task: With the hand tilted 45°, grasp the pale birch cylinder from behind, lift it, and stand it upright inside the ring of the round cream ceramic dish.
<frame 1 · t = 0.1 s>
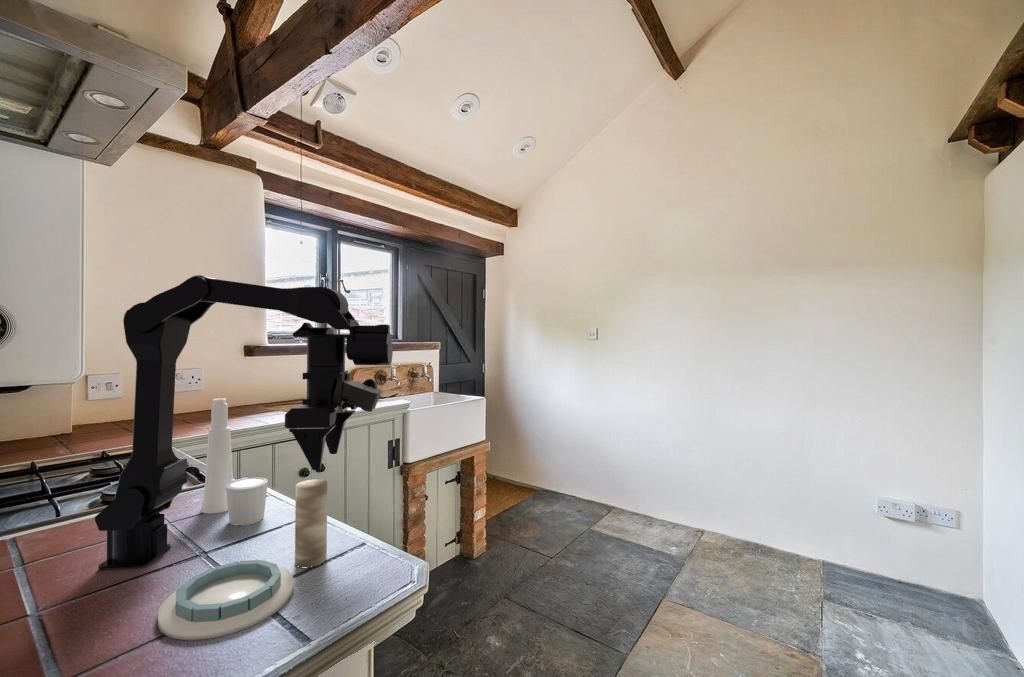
hand: (325, 461, 73), 15 cm above the counter, tool pointing down, fingers open, 9 cm apart
ring dish: (230, 601, 59), on the counter
white cup: (247, 520, 85), on the counter
cosmetic bottle: (218, 509, 90), on the counter
birch cylinder: (310, 560, 70), on the counter
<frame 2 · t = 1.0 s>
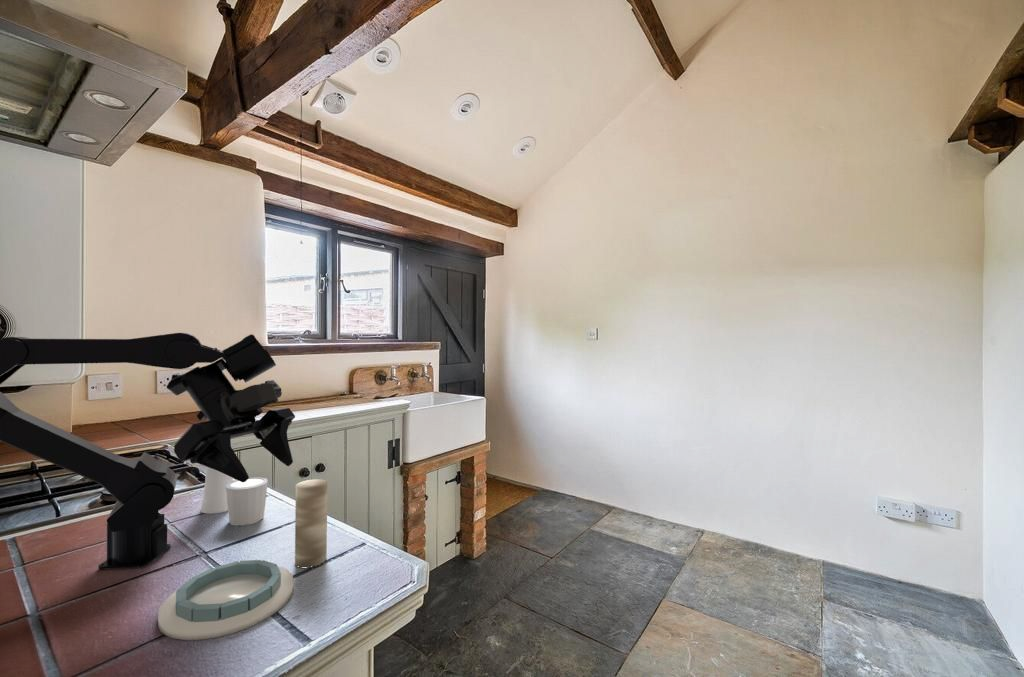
hand: (269, 471, 71), 13 cm above the counter, tool tilted 45°, fingers open, 9 cm apart
nothing on the counter moved.
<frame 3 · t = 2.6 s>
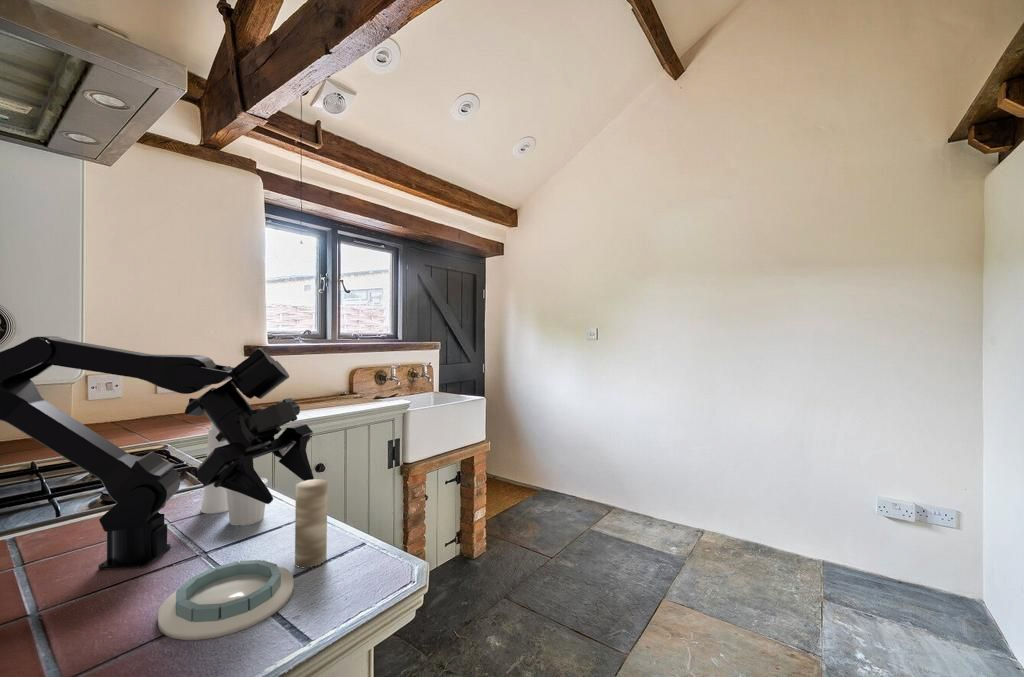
hand: (292, 491, 71), 10 cm above the counter, tool tilted 45°, fingers open, 9 cm apart
nothing on the counter moved.
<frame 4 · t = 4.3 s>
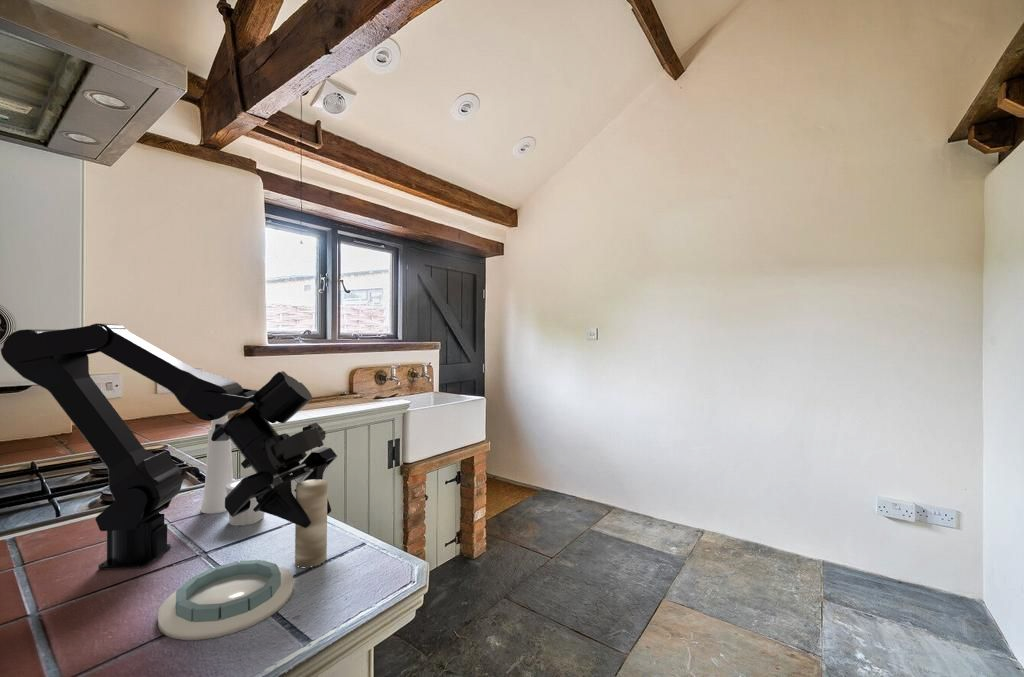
hand: (319, 519, 69), 7 cm above the counter, tool tilted 45°, fingers closed on birch cylinder, 4 cm apart
birch cylinder: (310, 560, 70), on the counter, touching gripper
everything else where it was.
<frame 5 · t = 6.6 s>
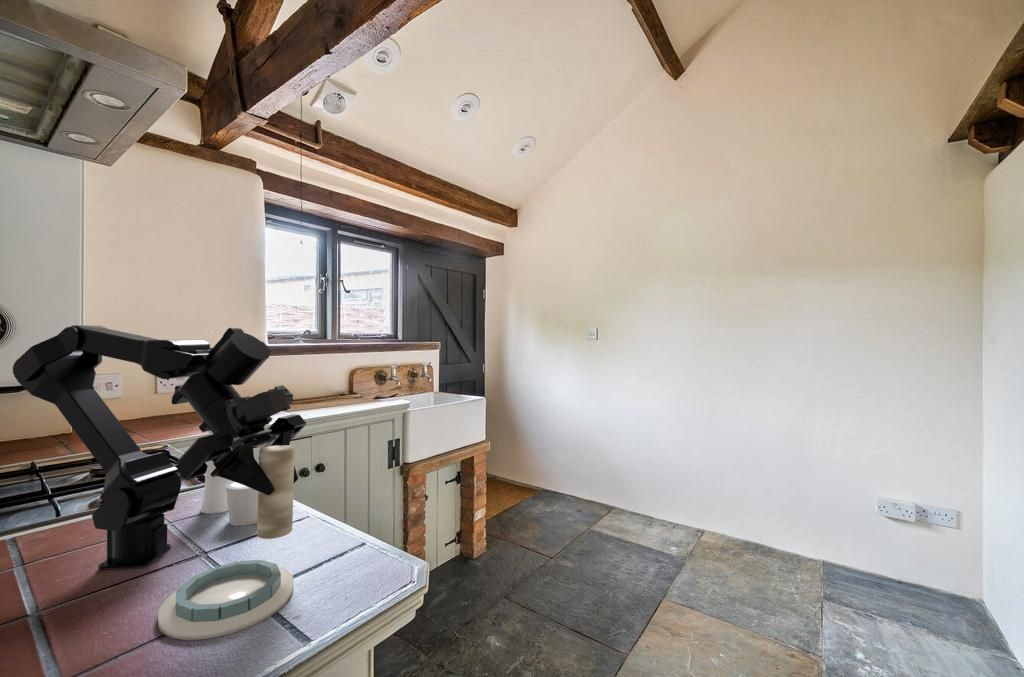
hand: (284, 487, 64), 13 cm above the counter, tool tilted 45°, fingers closed on birch cylinder, 4 cm apart
birch cylinder: (275, 531, 65), point 7 cm above the counter, touching gripper
everything else where it was.
when the fingers open (8 cm above the counter, at t = 8.7 s): birch cylinder stays where it is, resting on ring dish.
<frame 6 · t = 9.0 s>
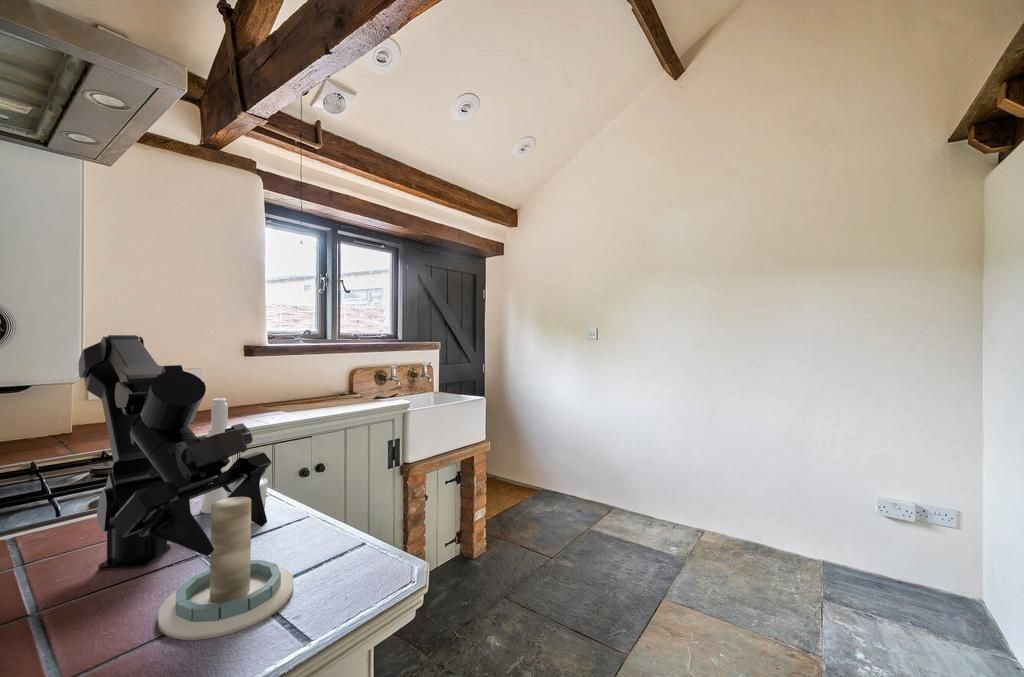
hand: (239, 537, 58), 9 cm above the counter, tool tilted 45°, fingers open, 8 cm apart
birch cylinder: (230, 593, 59), point 1 cm above the counter, touching ring dish
everything else where it was.
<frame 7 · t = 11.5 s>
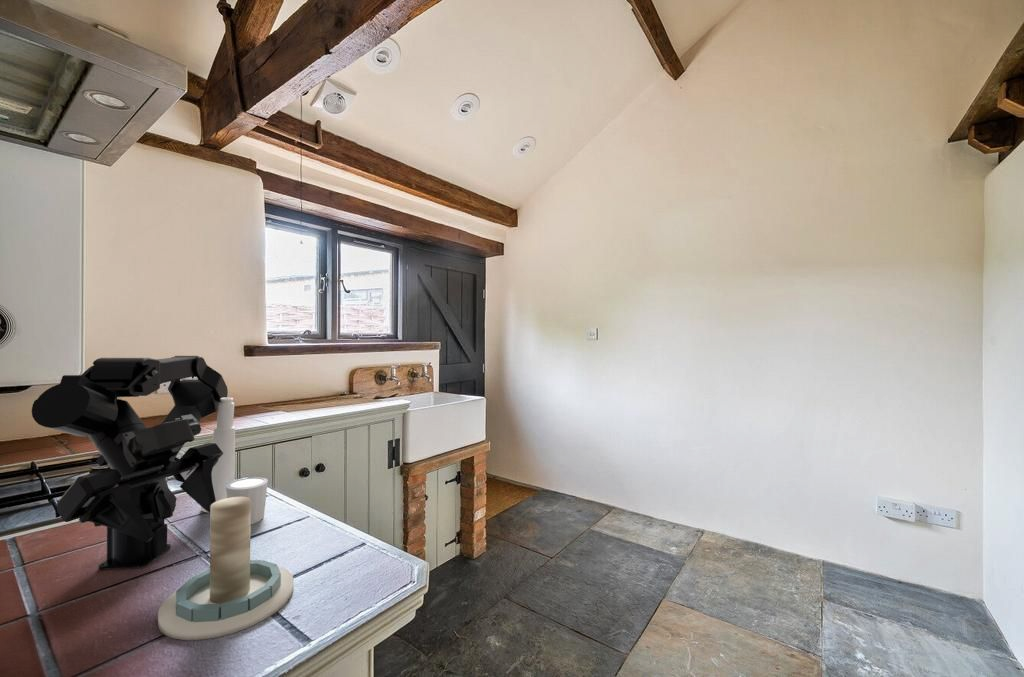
hand: (184, 524, 61), 9 cm above the counter, tool tilted 45°, fingers open, 9 cm apart
cosmetic bottle: (218, 508, 90), on the counter, touching arm
everything else where it was.
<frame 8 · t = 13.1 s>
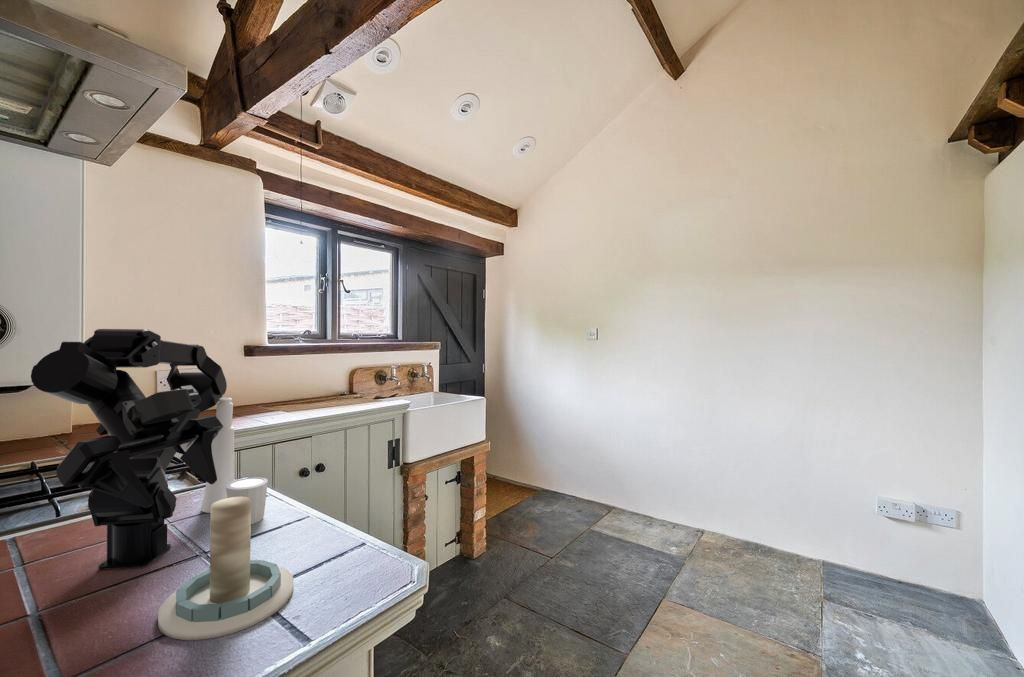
hand: (184, 493, 61), 14 cm above the counter, tool tilted 45°, fingers open, 9 cm apart
nothing on the counter moved.
at the end: birch cylinder 0.0 cm off-centre on the ring dish, point 1.0 cm above the ring dish's base; birch cylinder tilted 0°; the gripper is holding nothing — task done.
